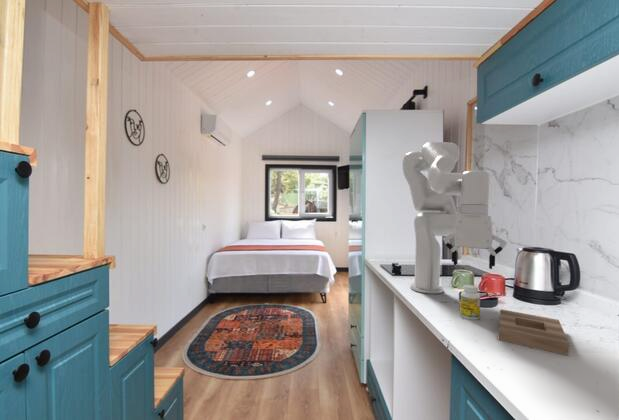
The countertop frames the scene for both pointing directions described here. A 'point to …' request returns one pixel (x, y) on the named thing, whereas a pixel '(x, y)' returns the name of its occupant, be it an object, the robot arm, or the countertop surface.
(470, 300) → the supplement bottle
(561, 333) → the bottle caddy
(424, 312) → the countertop surface
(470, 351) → the countertop surface
